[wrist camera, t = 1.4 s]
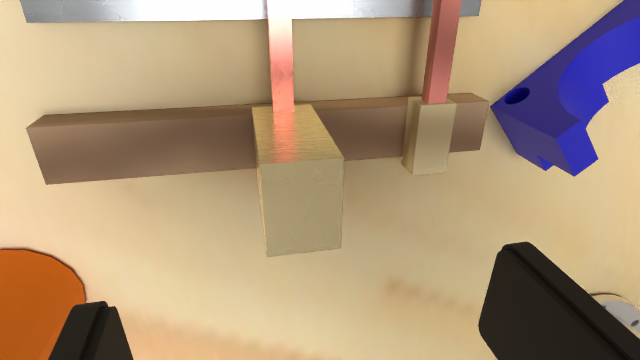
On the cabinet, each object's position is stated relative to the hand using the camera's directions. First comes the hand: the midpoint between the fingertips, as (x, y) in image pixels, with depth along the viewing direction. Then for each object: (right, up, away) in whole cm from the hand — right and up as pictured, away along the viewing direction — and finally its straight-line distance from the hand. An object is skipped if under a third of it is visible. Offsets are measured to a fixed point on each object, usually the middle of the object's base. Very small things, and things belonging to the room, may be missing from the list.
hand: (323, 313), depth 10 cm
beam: (-2, +9, +12) cm, 15 cm away
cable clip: (+17, +11, +16) cm, 25 cm away
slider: (-2, +8, +10) cm, 13 cm away
